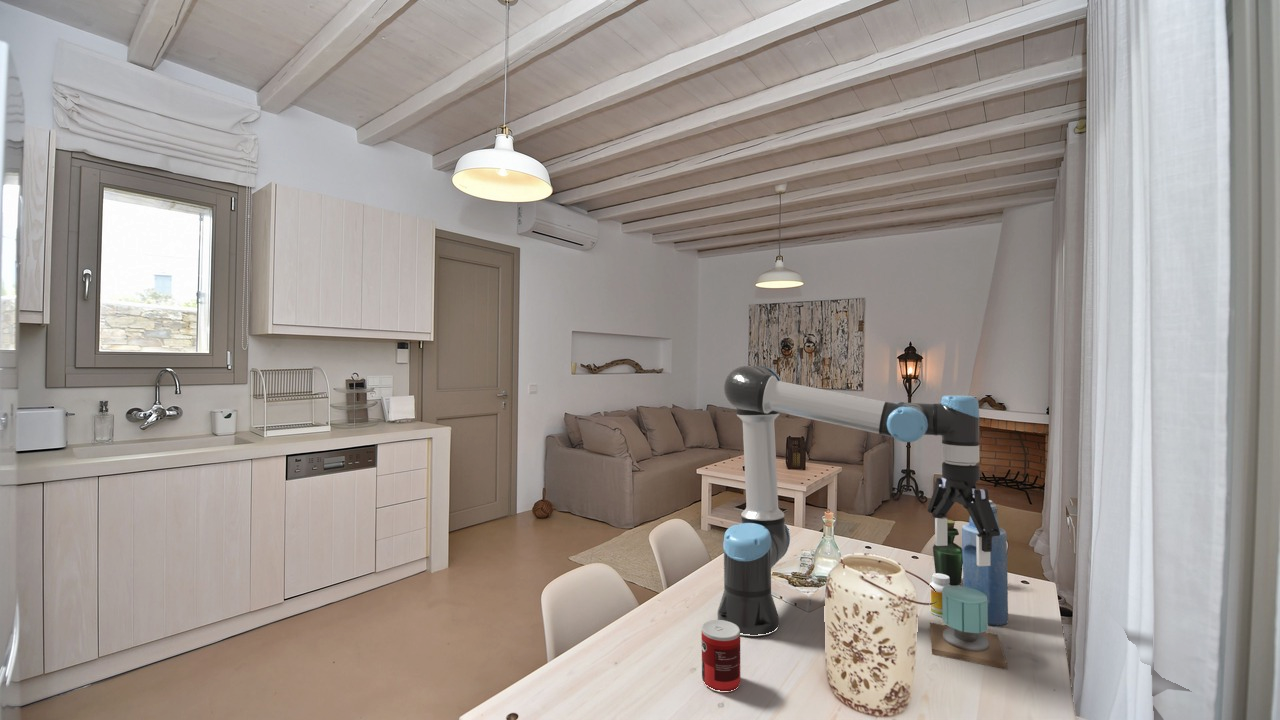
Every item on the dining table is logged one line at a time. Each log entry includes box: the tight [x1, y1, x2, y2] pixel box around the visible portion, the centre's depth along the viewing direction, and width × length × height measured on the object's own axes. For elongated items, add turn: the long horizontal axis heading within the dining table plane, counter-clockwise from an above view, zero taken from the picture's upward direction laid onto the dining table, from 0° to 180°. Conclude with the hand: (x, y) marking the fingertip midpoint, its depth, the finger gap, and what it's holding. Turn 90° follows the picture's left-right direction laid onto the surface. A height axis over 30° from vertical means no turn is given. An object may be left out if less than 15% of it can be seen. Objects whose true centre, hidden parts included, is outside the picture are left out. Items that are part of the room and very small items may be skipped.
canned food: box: [701, 619, 741, 691], centre depth 111 cm, size 8×8×11 cm
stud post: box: [929, 622, 1008, 670], centre depth 125 cm, size 14×14×12 cm
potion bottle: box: [932, 519, 963, 586], centre depth 163 cm, size 8×8×18 cm
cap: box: [942, 585, 989, 633], centre depth 125 cm, size 9×9×7 cm
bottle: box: [961, 499, 1009, 627], centre depth 139 cm, size 10×10×30 cm
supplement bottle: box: [928, 572, 952, 618], centre depth 142 cm, size 5×5×10 cm
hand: (961, 554), depth 125 cm, fingers open, 13 cm apart
